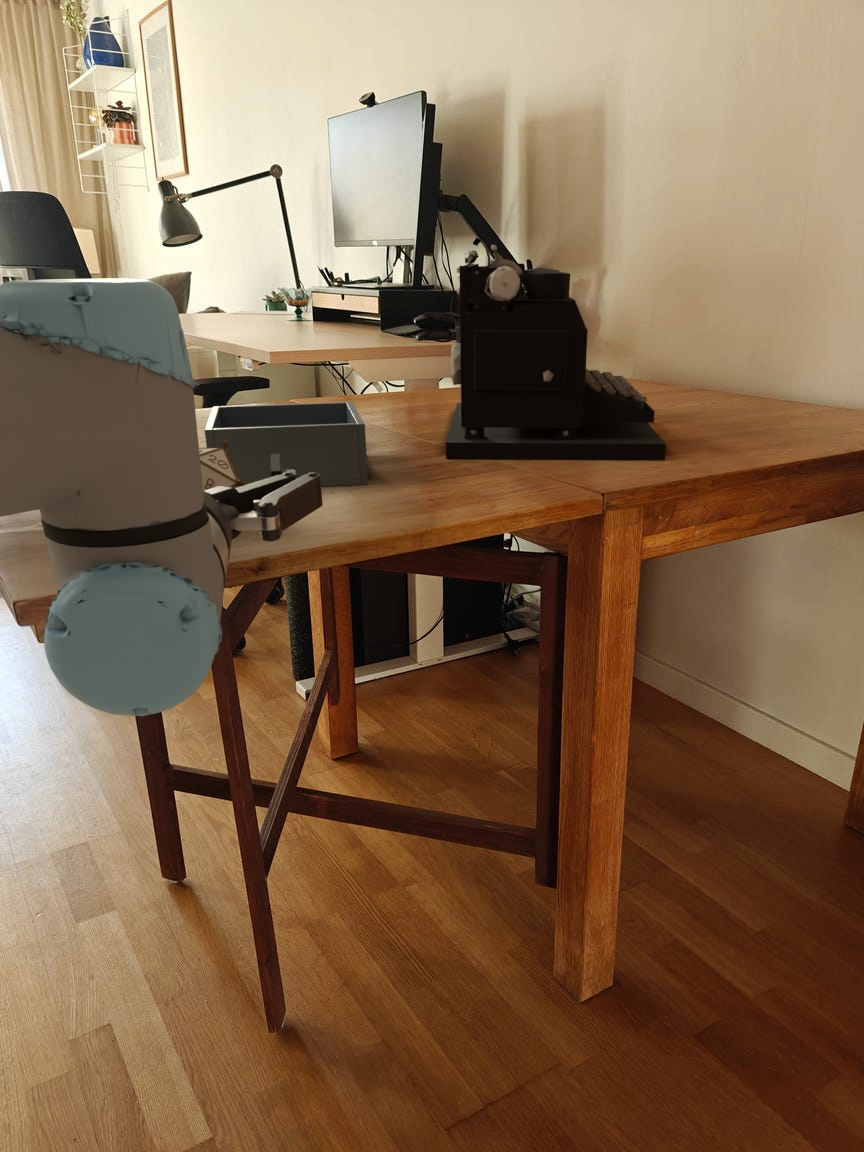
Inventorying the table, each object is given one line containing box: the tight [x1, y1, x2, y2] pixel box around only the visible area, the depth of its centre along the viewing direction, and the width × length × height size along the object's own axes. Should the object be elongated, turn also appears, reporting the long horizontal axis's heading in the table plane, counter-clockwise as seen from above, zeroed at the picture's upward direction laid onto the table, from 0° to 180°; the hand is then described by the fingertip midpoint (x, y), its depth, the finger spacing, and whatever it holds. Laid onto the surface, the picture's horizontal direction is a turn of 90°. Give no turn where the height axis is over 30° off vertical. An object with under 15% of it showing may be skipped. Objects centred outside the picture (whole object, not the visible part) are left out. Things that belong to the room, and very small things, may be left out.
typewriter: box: [445, 237, 667, 461], centre depth 116 cm, size 31×27×25 cm
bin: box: [204, 401, 369, 488], centre depth 99 cm, size 17×16×7 cm
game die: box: [199, 439, 246, 502], centre depth 78 cm, size 9×8×10 cm
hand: (193, 473), depth 72 cm, fingers open, 13 cm apart
